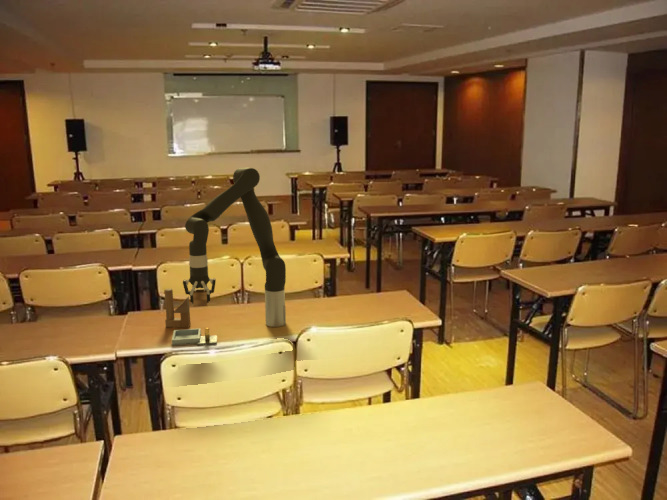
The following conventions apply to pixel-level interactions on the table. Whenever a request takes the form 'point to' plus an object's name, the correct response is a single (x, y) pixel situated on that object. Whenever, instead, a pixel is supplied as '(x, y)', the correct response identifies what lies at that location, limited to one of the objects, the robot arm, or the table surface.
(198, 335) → the tray
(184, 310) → the brown upright angular piece
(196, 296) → the bored block
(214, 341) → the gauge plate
